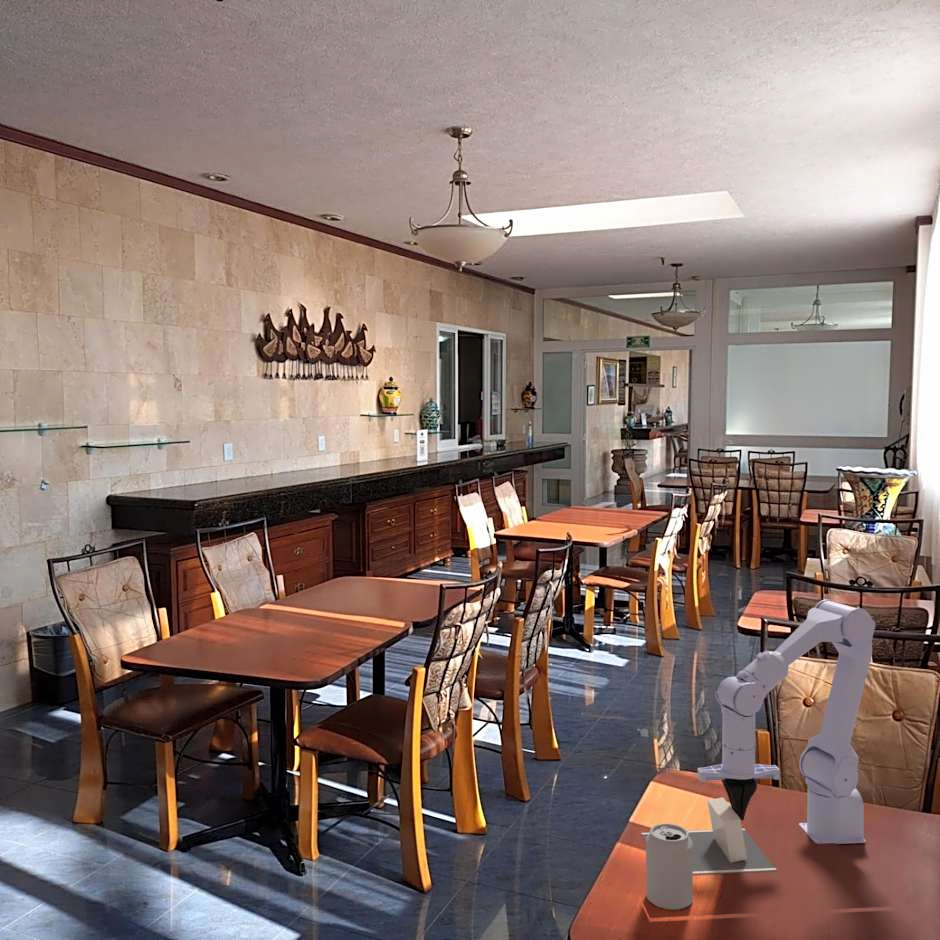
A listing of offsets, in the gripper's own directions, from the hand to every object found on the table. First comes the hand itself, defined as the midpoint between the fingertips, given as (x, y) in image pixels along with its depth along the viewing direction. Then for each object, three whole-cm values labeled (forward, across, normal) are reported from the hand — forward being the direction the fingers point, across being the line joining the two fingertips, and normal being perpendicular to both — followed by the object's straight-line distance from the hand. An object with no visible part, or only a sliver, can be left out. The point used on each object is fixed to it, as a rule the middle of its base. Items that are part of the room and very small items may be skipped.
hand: (738, 817), depth 162 cm
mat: (+6, +6, 0) cm, 9 cm away
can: (+7, +17, +15) cm, 24 cm away
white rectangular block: (+6, +2, 0) cm, 6 cm away
